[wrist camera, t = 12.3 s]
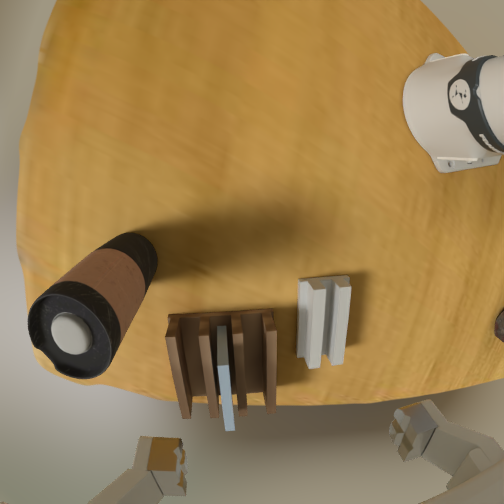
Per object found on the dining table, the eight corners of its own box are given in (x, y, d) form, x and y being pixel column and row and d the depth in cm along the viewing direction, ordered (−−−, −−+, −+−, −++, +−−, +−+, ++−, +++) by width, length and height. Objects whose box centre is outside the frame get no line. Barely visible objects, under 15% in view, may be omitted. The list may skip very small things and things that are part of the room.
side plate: (226, 325, 41) (228, 365, 33) (231, 387, 44) (234, 430, 36) (217, 326, 41) (217, 365, 32) (223, 388, 44) (225, 430, 35)
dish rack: (272, 308, 42) (280, 330, 36) (272, 387, 46) (278, 412, 40) (168, 314, 41) (161, 337, 35) (182, 392, 45) (179, 418, 39)
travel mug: (162, 233, 38) (111, 301, 19) (158, 290, 40) (117, 389, 21) (105, 227, 37) (19, 283, 18) (104, 282, 39) (34, 368, 20)
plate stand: (347, 275, 42) (358, 285, 38) (340, 348, 45) (349, 362, 42) (298, 279, 41) (305, 290, 38) (295, 354, 45) (301, 369, 41)
